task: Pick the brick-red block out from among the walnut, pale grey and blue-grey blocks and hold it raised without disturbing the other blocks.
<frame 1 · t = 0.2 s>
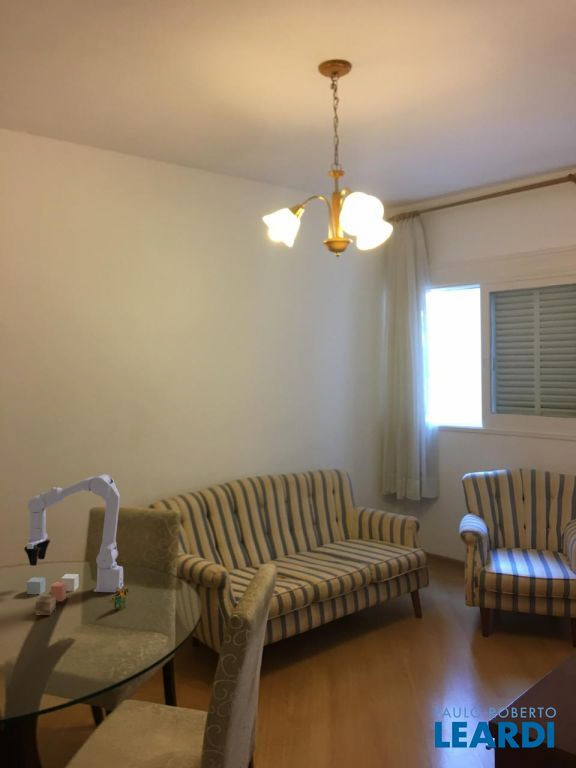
hand: (37, 562, 247), 10 cm above the table, tool pointing down, fingers open, 7 cm apart
figurine: (118, 610, 228), on the table
pale grey block: (69, 589, 247), on the table
blue-grey block: (36, 592, 242), on the table
brick-red block: (58, 600, 235), on the table
walnut block: (45, 613, 223), on the table
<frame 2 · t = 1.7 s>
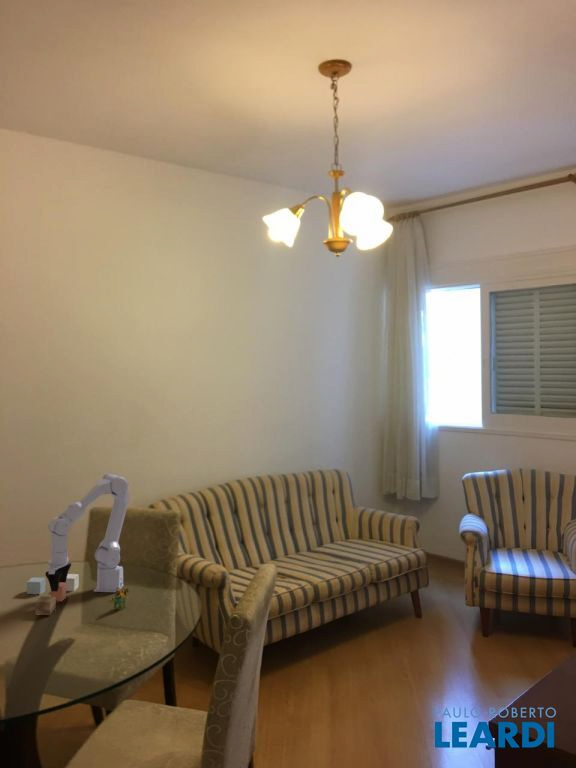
hand: (58, 587, 235), 5 cm above the table, tool pointing down, fingers open, 7 cm apart
nothing on the table moved.
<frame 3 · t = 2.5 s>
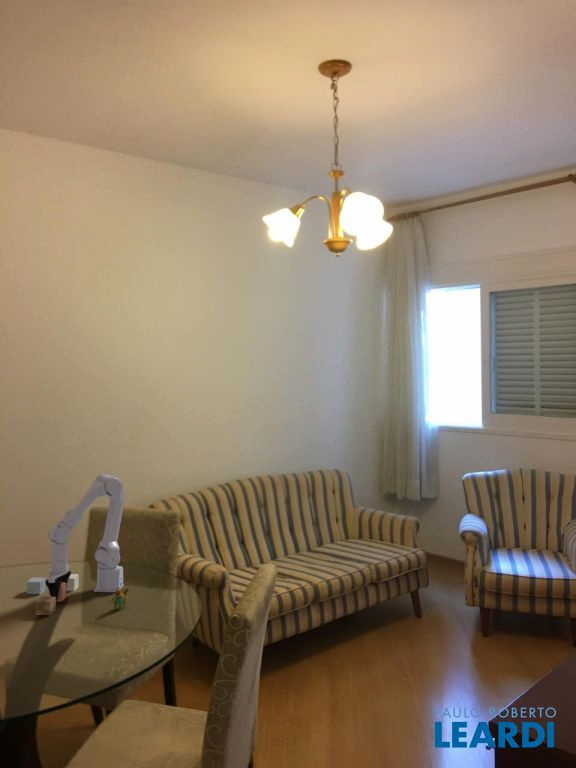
hand: (58, 595, 235), 2 cm above the table, tool pointing down, fingers open, 7 cm apart
nothing on the table moved.
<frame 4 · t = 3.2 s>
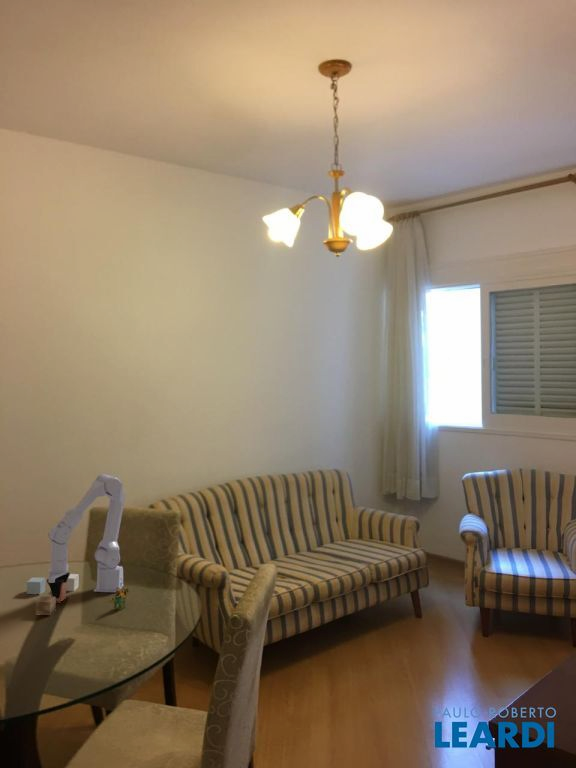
hand: (58, 595, 235), 2 cm above the table, tool pointing down, fingers closed on brick-red block, 4 cm apart
brick-red block: (58, 600, 235), on the table, touching gripper
everything else where it was.
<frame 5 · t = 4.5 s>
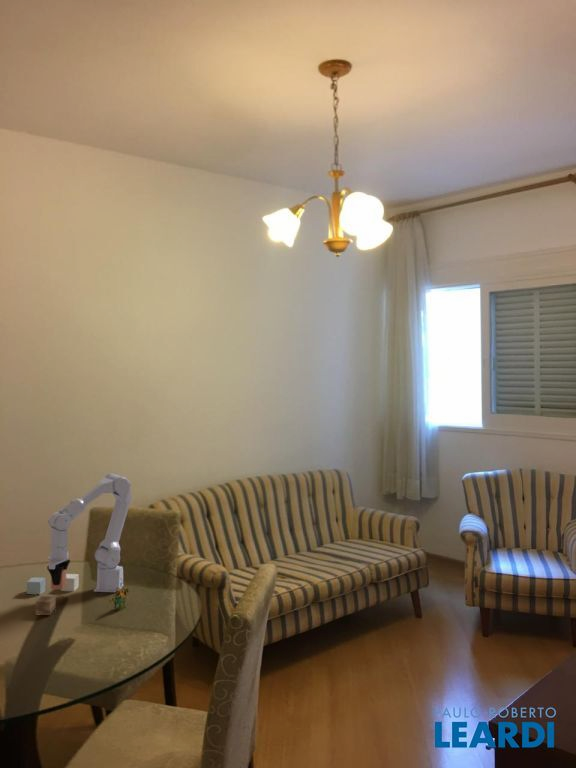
hand: (58, 582, 235), 7 cm above the table, tool pointing down, fingers closed on brick-red block, 4 cm apart
brick-red block: (58, 587, 235), point 5 cm above the table, touching gripper
everything else where it was.
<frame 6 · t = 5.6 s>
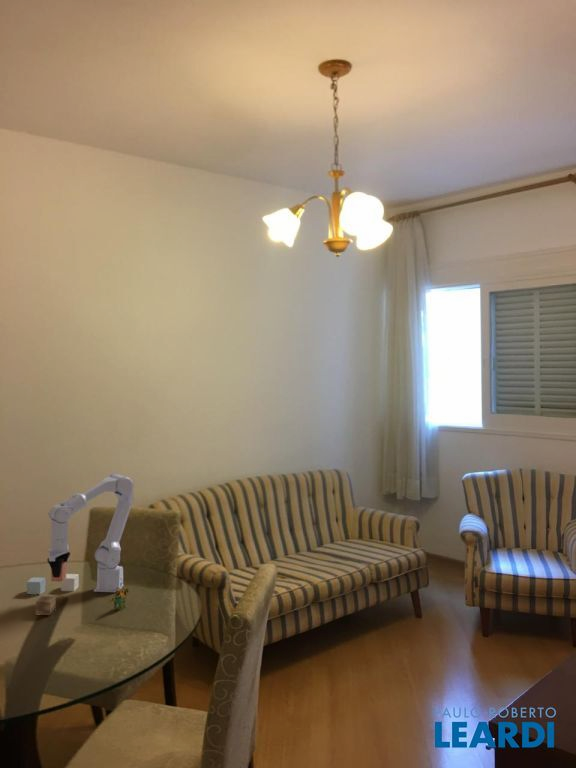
hand: (58, 574, 235), 9 cm above the table, tool pointing down, fingers closed on brick-red block, 4 cm apart
brick-red block: (58, 579, 235), point 8 cm above the table, touching gripper
everything else where it was.
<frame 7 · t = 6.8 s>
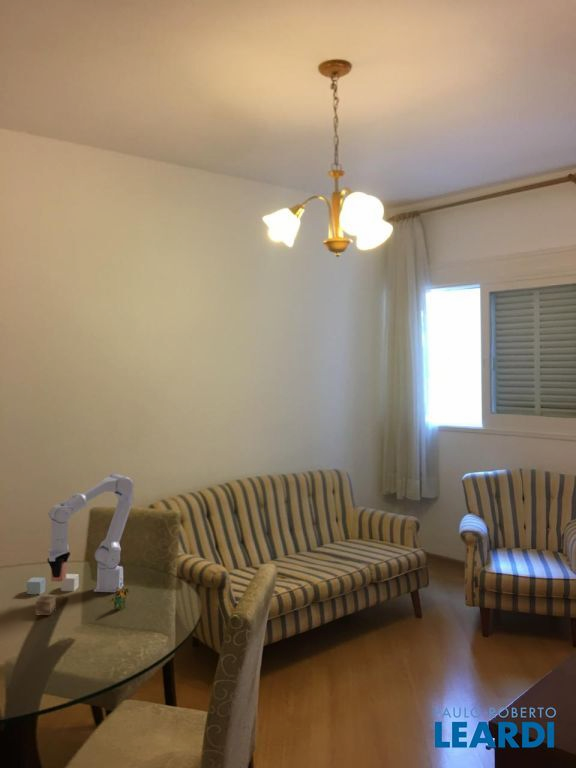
hand: (58, 574, 235), 9 cm above the table, tool pointing down, fingers closed on brick-red block, 4 cm apart
brick-red block: (58, 579, 235), point 8 cm above the table, touching gripper
everything else where it was.
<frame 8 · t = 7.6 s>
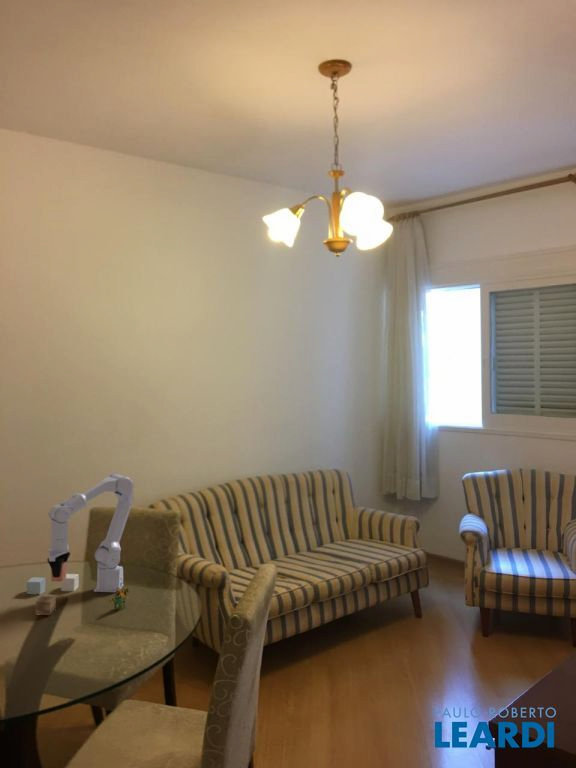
hand: (58, 574, 235), 9 cm above the table, tool pointing down, fingers closed on brick-red block, 4 cm apart
brick-red block: (58, 579, 235), point 8 cm above the table, touching gripper
everything else where it was.
at the end: the gripper is holding brick-red block; brick-red block point 7.7 cm above the table; walnut block moved 0.1 cm from its start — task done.
